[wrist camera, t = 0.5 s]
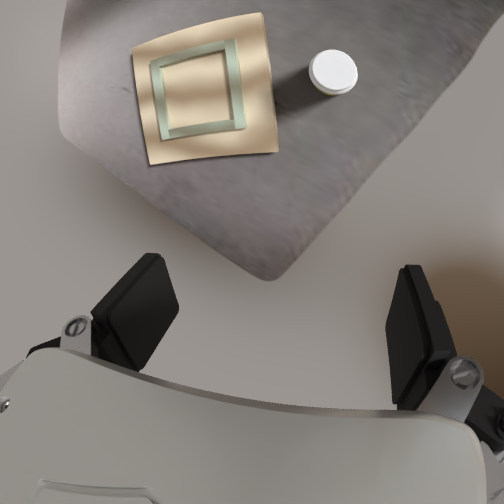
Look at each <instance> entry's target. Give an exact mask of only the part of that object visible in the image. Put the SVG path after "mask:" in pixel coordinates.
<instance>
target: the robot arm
mask: <svg viewBox="0 0 504 504" xmlns="http://www.w3.org/2000/svg"><path fill="white" fill-rule="evenodd" d="M178 311H179V304H178V302H177V299H176V295H175V292H174V289H173V286H172V283H171V280H170V277H169V273H168V270H167V267H166V264H165V260H164V258H163V257H161V255H159V254H158V253H146V254H145V255H143V256H142V257H141V258H140V260H138V262H137V263H136V264H135V265H134V266H133V267H132V268H131V269H130V270H129V271H128V272H127V273H126V274H125V275H124V276H123V277H122V278H121V279H120V280H119V281H118V282H117V283H116V284H115V286H114V287H113V288H112V289H111V290H110V291H109V292H108V293H107V294H106V295H105V296H104V297H103V299H102V300H101V301H100V302H99V303H98V304H97V305H96V306H95V307H94V309H93V310H92V311H91V314H92V316H93V320H92V321H91V319H90V318H89V317H88V316H85V315H80V316H76V317H74V318H72V319H71V320H69V321H68V322H67V323H66V324H65V325H64V327H63V329H62V334H61V337H58V338H55V339H53V340H50V341H48V342H45V343H42V344H40V345H38V346H35V347H33V348H31V349H30V351H29V353H28V355H27V357H26V359H25V360H23V361H21V362H20V363H18V364H17V365H15V366H14V367H12V368H11V369H9V370H8V371H6V372H5V373H4V374H2V375H1V376H0V504H504V400H503V399H501V398H500V397H499V396H498V395H496V394H495V393H494V392H492V391H491V390H489V389H488V388H487V387H485V386H484V385H483V380H484V375H483V371H482V368H481V366H480V365H479V364H478V362H477V361H475V360H474V359H473V358H471V357H468V356H463V355H460V356H457V353H456V349H455V346H454V343H453V340H452V337H451V334H450V331H449V327H448V325H447V322H446V319H445V316H444V313H443V311H442V308H441V305H440V304H439V302H438V301H435V299H434V297H433V294H432V292H431V289H430V287H429V284H428V282H427V279H426V277H425V274H424V272H423V270H422V267H421V266H420V265H405V267H404V268H401V269H400V270H399V274H398V280H397V283H396V287H395V291H394V295H393V300H392V303H391V307H390V310H389V314H388V317H387V321H386V329H385V330H386V338H387V346H388V355H389V364H390V375H391V387H392V388H391V389H392V402H393V404H397V410H356V409H335V408H319V407H307V406H296V405H286V404H279V403H271V402H264V401H257V400H251V399H245V398H239V397H234V396H229V395H224V394H219V393H214V392H209V391H205V390H201V389H196V388H192V387H188V386H184V385H180V384H177V383H173V382H169V381H166V380H162V379H159V378H155V377H152V376H148V375H145V374H142V373H139V371H140V370H141V369H143V368H144V367H145V365H146V363H147V362H148V360H149V358H150V357H151V355H152V354H153V352H154V350H155V349H156V347H157V346H158V344H159V342H160V341H161V339H162V337H163V336H164V334H165V333H166V331H167V330H168V328H169V326H170V325H171V323H172V322H173V320H174V319H175V317H176V315H177V314H178Z"/></svg>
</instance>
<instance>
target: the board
mask: <svg viewBox="0 0 504 504" xmlns="http://www.w3.org/2000/svg"><path fill="white" fill-rule="evenodd" d="M132 55H133V64H134V72H135V80H136V87H137V94H138V101H139V107H140V113H141V119H142V125H143V131H144V136H145V142H146V147H147V152H148V157H149V162H150V165H153V164H159V163H166V162H173V161H180V160H188V159H196V158H205V157H214V156H225V155H237V154H251V153H268V152H278V151H279V142H278V132H277V122H276V112H275V103H274V93H273V85H272V76H271V68H270V60H269V52H268V45H267V37H266V30H265V23H264V17H263V15H262V13H261V12H260V13H253V14H247V15H241V16H236V17H230V18H226V19H221V20H217V21H212V22H208V23H204V24H201V25H197V26H193V27H190V28H186V29H183V30H180V31H177V32H174V33H171V34H168V35H165V36H162V37H159V38H156V39H154V40H151V41H149V42H146V43H143V44H141V45H139V46H136V47H134V48H132Z"/></svg>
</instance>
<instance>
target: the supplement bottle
mask: <svg viewBox="0 0 504 504" xmlns="http://www.w3.org/2000/svg"><path fill="white" fill-rule="evenodd" d="M357 75H358V74H357V69H356V66H355V64H354V62H353V60H352V59H351V58H350V57H349V56H348V55H347V54H345V53H343V52H341V51H338V50H326V51H323V52H320V53H318V54H317V55H316V56H314V57H313V59H312V60H311V62H310V65H309V76H310V79H311V81H312V83H313V85H314V86H315V88H316V89H317V90H319V91H320V92H322V93H324V94H326V95H332V96H335V95H340V94H343V93H346V92H348V91H349V90H351V89H352V88H353V87H354V85H355V84H356V81H357Z"/></svg>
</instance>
